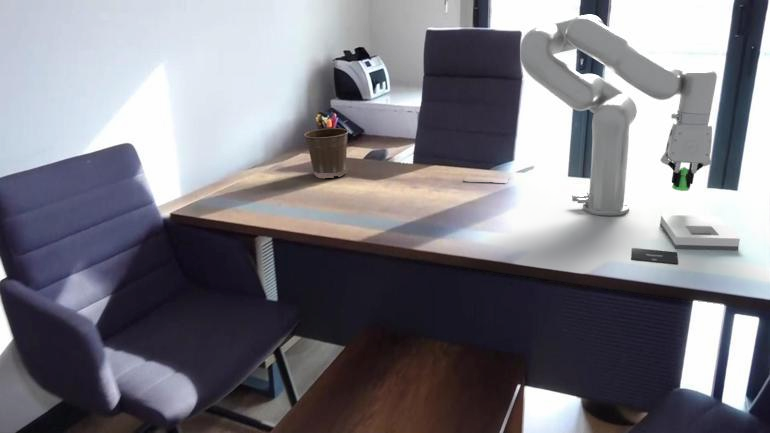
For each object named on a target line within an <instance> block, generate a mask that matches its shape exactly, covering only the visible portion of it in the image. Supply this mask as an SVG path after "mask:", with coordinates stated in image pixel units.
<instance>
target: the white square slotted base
mask: <svg viewBox="0 0 770 433" xmlns="http://www.w3.org/2000/svg"><path fill="white" fill-rule="evenodd" d="M659 227H660V228H661V229H662V231H663V233H664V234H665V236H666V237H667V239H668V240H669V242H670V243H671V245H672V246H673V248H674V249H680V250H681V249H682V250H709V251H710V250H711V251H713V250H717V251H718V250H719V251H738V250H739V247H740V240H741V238H740V237H739V236H738V235H737V234H736V233H735V232H734V230H732V228H730V227H729V226H728V225H727V223H726V222H725V221H724V220H723V219H722V218H721V217H720V216H719V215H676V214H675V215H674V214H670V215H669V214H660V220H659Z"/></svg>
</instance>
